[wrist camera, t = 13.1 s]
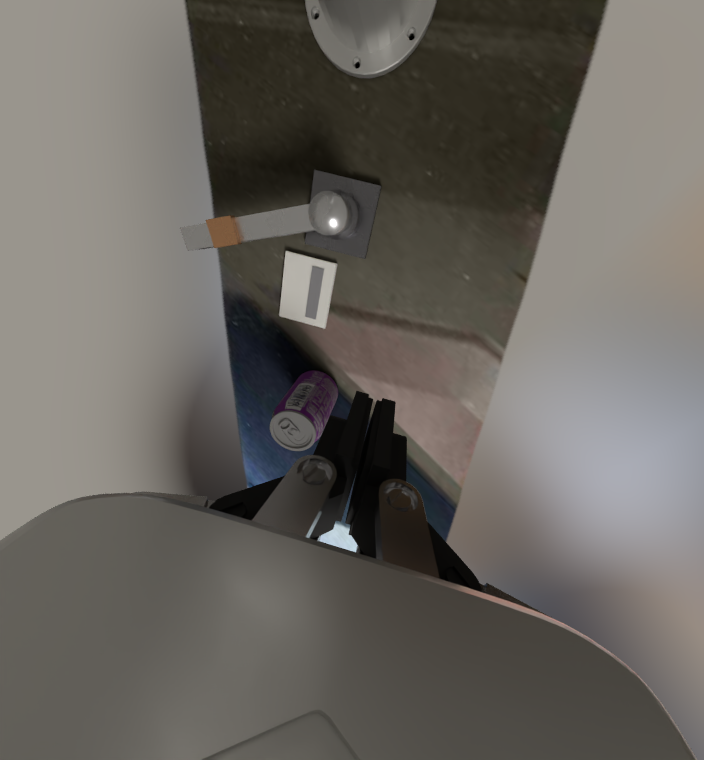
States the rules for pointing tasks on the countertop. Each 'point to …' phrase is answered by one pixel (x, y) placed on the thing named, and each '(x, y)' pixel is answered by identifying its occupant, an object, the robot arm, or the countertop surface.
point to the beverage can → (304, 411)
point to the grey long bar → (273, 223)
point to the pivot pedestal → (363, 213)
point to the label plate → (307, 289)
